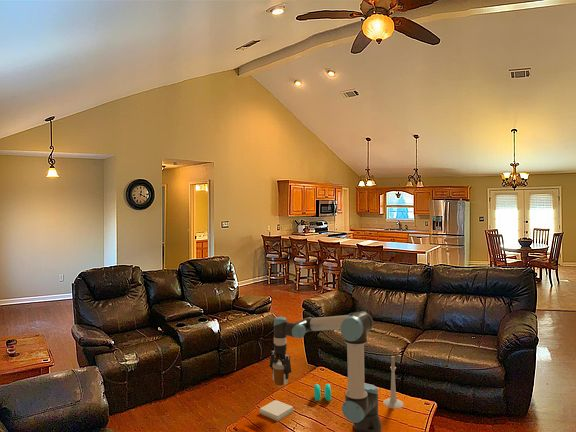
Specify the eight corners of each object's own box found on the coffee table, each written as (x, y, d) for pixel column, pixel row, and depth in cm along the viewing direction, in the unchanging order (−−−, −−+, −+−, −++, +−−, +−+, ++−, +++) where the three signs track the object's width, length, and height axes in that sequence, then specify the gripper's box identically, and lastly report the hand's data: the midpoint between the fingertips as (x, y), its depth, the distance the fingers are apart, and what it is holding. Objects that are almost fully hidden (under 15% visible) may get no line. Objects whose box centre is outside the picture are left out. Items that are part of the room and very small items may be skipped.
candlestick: (387, 398, 258) (386, 350, 258) (407, 403, 251) (406, 354, 250) (379, 406, 248) (379, 356, 247) (400, 411, 240) (399, 361, 240)
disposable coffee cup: (286, 387, 235) (286, 366, 235) (270, 385, 238) (270, 365, 237) (289, 380, 245) (289, 360, 245) (274, 379, 247) (274, 359, 247)
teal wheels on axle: (331, 404, 251) (331, 387, 251) (315, 404, 251) (314, 387, 251) (330, 396, 261) (329, 381, 261) (314, 396, 261) (314, 381, 261)
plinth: (293, 411, 242) (293, 406, 242) (277, 421, 231) (277, 416, 231) (275, 404, 251) (275, 399, 251) (259, 413, 240) (259, 408, 240)
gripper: (297, 346, 237) (297, 385, 237) (271, 338, 250) (271, 375, 251) (289, 349, 231) (289, 389, 231) (263, 341, 245) (263, 379, 245)
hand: (280, 382), depth 241 cm, fingers closed on disposable coffee cup, 8 cm apart
